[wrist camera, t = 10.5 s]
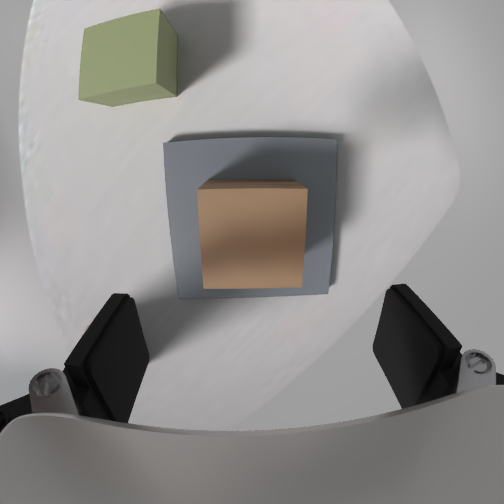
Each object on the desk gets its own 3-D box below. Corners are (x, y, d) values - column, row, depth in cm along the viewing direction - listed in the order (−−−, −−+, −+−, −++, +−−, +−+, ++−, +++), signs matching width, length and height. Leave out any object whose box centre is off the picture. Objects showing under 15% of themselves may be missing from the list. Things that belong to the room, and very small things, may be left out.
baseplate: (166, 142, 22) (163, 142, 21) (333, 139, 22) (337, 139, 21) (180, 293, 27) (178, 298, 26) (325, 288, 27) (328, 293, 26)
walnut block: (207, 180, 22) (197, 189, 18) (294, 179, 23) (307, 188, 18) (210, 261, 25) (203, 288, 20) (291, 260, 25) (301, 287, 20)
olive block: (115, 48, 18) (84, 28, 13) (178, 35, 19) (160, 8, 13) (112, 106, 21) (78, 99, 15) (177, 96, 21) (156, 83, 15)
